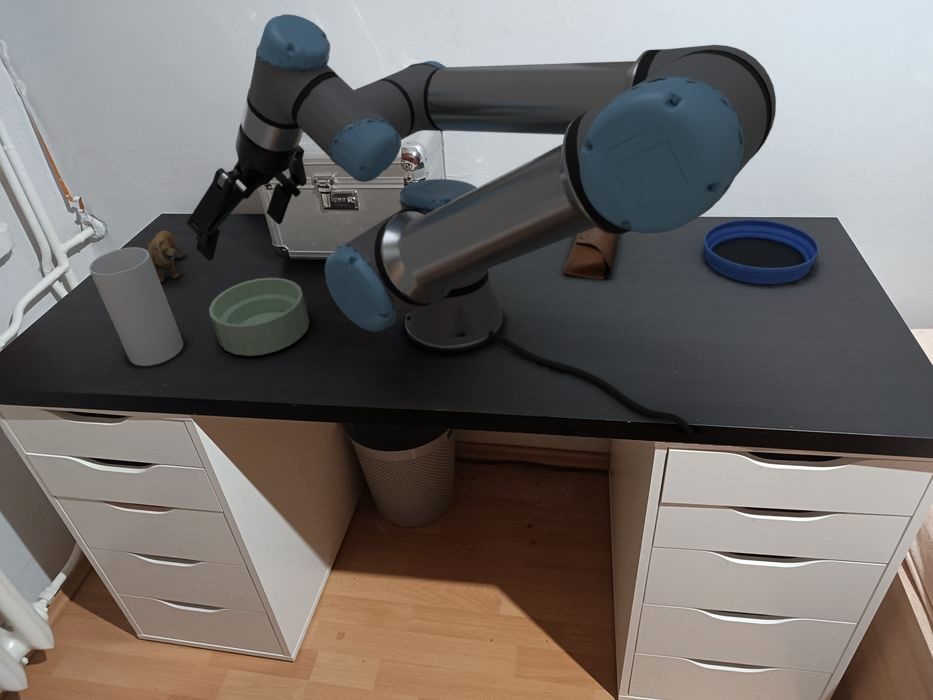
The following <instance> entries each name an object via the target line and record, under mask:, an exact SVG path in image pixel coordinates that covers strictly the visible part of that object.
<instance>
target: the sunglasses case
mask: <svg viewBox="0 0 933 700" xmlns="http://www.w3.org/2000/svg"><path fill="white" fill-rule="evenodd" d="M618 239H619V235H611V234H608V233H605V232H603V231H602V230H600V229H599V228H597V227H595V228H592V229H590V230H587V231H584V232H582V233H579V234H577V235H574V239H573V243H572V245H571V248H570V252H569V255H568V257H567V259H566V261H565V264H564V266H563V269H562V273H563V274H565V275H568V276H573V277H578V278H582V279H583V278H584V279H593V280H605V279H607V278H608V277H609V276H611V273H612V270H613V265H614V258H615V254H616V249H617V244H618V241H619V240H618Z"/></svg>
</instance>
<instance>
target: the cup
mask: <svg viewBox="0 0 933 700" xmlns="http://www.w3.org/2000/svg"><path fill="white" fill-rule="evenodd" d="M88 270H89V273H90V275H91V278H92V279H93V281H94V285H95V286H96V288H97V291H98V294H99V296H100V298H101V300H102V302H103V304H104V306H105V308H106V311H107V313H108V315H109V317H110V319H111V322H112V324H113V326H114V329H115V331H116V333H117V335H118V338H119V340H120V342H121V345H122V346H123V349H124V351H125V353H126V356H127V358H128V360H129V362H130V363H132V364H133V365H134V366H135V365H136V366H140V367H141V366H142V367H150V366H155V365H159V364H161V363H165V362H167V361H169V360H172V359H173V358H174V357H176V356H177V355H178V354H179V353H180V352H181V351H182V349H183V348H184V340H183V338H182V335H181V333H180V330H179V327H178V325H177V322H176V319H175V316H174V314H173V312H172V309H171V307H170V306H171V305H170V304H169V302H168V299H167V296H166V293H165V291H164V289H163V286H162V282H160V280H159V278H158V275H157V272H156V270H155V267H154V265H153V262H152V259H151V257H150V254H149V253H148V251H147V250H146V249H145V248H143V247H124V248H119V249H115V250H111V251H109V252H106V253H104V254H102V255H100V256H98V257H96V258H95V259H93V261H92V262H91V263H89V266H88Z"/></svg>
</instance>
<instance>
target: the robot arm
mask: <svg viewBox="0 0 933 700" xmlns="http://www.w3.org/2000/svg"><path fill="white" fill-rule="evenodd" d="M330 52H331V43H330V41H329V40H328V37H327V34H326V32H325V31H324V30H323V29H322V28H321V27H320V26H319V25H317V24H316V23H315V22H313V21H311V20H310V19H308V18H305V17H302V16H300V15H295V14H288V13H287V14H286V13H285V14H281V15H276V16H274V17H272V18H271V19H269V20H268V21H267V22H266V24H265V26H264V29H263V32H262V36H261V38H260V41H259V45H258V46H257V48H256V50H255V58H254V65H253V69H252V75H251V80H250V84H249V88H248V90H247V91H248V92H247V95H246V101H245V105H244V109H243V112H242V116H241V121H240V124H239V127H238V131H237V136H236V140H235V152H236V155H237V162H236V163H235V164H234V167H233V168H232V170H229V171H225V169H224V168H222V167H220V168H218V169H217V170H216V171H215V173H214V176H213V178H212V179H213V180H212V182H211V183H210V185H209V187H207V190H206V191H205V193H204V195H202V198H201V199H200V201H199V202H198V204H197V205H196V207H195V208H194V210H193V212H192V213H191V214H190V216H189V217H188V219H187V221H186V225H187V226H188V227H189V229H191V230H192V232H194V233H195V234H196V237H195V239H196V241H197V242H196V247H195V248H196V250H197V251H198V252H199V253H200V254H201V255H202V256H203V257H204V258H205V259H206V260H207V262H210V261H212V260H214V257H215V253H216V249H217V246H218V240H219V237H220V233H221V231H220V229H219V227H220V226H221V225H222V224H223V223H224V222H225V220H226V219H227V218H228V217H229V216H230V215H231V214H232V213H233V211H234V210H235V209H236V208H237V206H238V205H240V203H241V202H242V201H243V200H248V199H249V198H250V197H251V196H252V195H253V193H254V192H255V191H256V190H257V189H258V188H261V187H262V186H265V185H268V184H270V183H271V181H273V179H276V180H277V181H278V183H277V184H275V185H274V189H273V191H272V193H271V198H270V200H269V204H268V207H267V210H266V214H267V215H268V216H269V217H270V218H271V219H272V221H274V222H275V223H276V224H277V225H281V224H282V223H283V221H284V218H285V216H286V213H287V210H288V207H289V204H290V202H291V201H292V200H291V199H292V196H294V198H297V197H299V196H300V195H301V193H302V191H301V190H300V189H299V188H298V187H299V186H300V187H304V186H305V185H306V184H307V182H308V180H307V175H306V174H307V173H306V170H305V166H304V161H303V159H304V155H305V149H304V148H303V147H302V146H301V145H300V143H301V140H302V139H303V134H306V136H308V137H309V138H310V139H311V140H312V141H313V142H314V144H315V145H316V146H318V147H319V148H320V149H321V151H322V152H324V153H325V154H326V156H328V158H329V159H330V160H331V161H332V162H333V163H334V164H335V165H336V166H338V167H340V168H341V169H342V170H343V171H344V172H345V173H347V174H348V175H349V176H350V177H352V179H354V180H355V181H357V182H360V183H368V182H370V181H374V180H375V179H377V178H379V176H380V175H381V174H382V172H384V171H387V170H388V169H389V168H390V166H391V165H392V164H393V163H394V161H395V160H396V158H397V157H398V155H399V154H400V151H401V148H402V141H403V140H404V139H406V138H408V137H410V136H412V135H414V134H417V133H418V132H422V131H430V132H432V131H433V132H470V133H498V134H499V133H501V134H525V135H526V134H530V135H553V136H554V135H557V136H563V139H562V143H561V144H560V145H558V146H556V147H554V148H552V149H549V150H548V151H546V152H544V153H542V154H540V155H538V156H536V157H535V158H532V159H530V160H529V161H526V162H525V163H522V164H521V165H519V166H517V167H515V168H513V169H511V170H510V171H507V172H505V173H504V174H502V175H499V176H497V177H496V178H494V179H492V180H490V181H488V182H486V183H484V184H482V185H480V186H478V187H477V186H476V185H474V184H472V183H469V182H466V181H463V180H458V179H457V180H456V179H446V178H435V179H434V178H433V179H423V180H418V181H415V182H411V183H409V184H406V185H405V186H403V187H402V188H401V190H400V193H399V200H398V201H399V202H398V203H400V207H401V208H400V210H399V211H396V212H395V213H394V214H391V215H390V216H388V217H386V218H385V219H383V220H382V221H380V222H378V223H377V224H374V225H373V226H371V228H369V229H367V230H365V231H364V232H363V233H360V234H359V235H357V236H356V237H354V238H353V239H351V240H350V241H348V242H346V243H342V244H340V245H339V246H338V247H337V249H335V250H334V251H333V252H332V253H330V255H328V257H327V258H326V261H325V263H324V265H325V266H324V275H325V282H326V283H325V284H326V286H327V289H328V291H329V293H330V295H331V297H332V299H333V301H334V303H335V304H336V306H337V308H339V310H340V311H341V313H343V315H345V317H346V318H347V319H348V320H349V321H351V322H352V323H354V324H355V325H356V326H357V327H359V328H361V329H363V330H364V331H367V332H372V333H380V332H383V331H385V330H386V329H388V328H391V327H394V325H395V324H396V323H397V321H398V320H400V319H401V318H403V316H404V317H405V318H404V324H405V331H406V335H407V337H408V339H409V340H410V341H411V342H412V343H413V344H415V345H416V346H417V347H419V348H421V349H424V350H427V351H429V352H435V353H442V354H456V353H463V352H468V351H473V350H475V349H478V348H482V347H483V346H485V345H487V344H489V343H490V342H491V341H493V340H495V341H496V342H499V343H500V344H502V345H504V346H505V347H507V348H509V349H511V350H512V351H514V352H516V353H518V354H519V355H521V356H522V357H525V358H526V359H528V360H530V361H533V362H535V363H536V364H537V363H538V364H539V365H543V366H545V367H549V368H551V369H555V370H559V371H562V372H566V373H569V374H572V375H576V376H578V377H581V378H584V379H585V380H587V381H590V382H592V383H594V384H596V385H597V386H599V387H601V388H602V389H604V390H605V391H606V392H608V393H609V394H611V395H612V396H613V397H614V398H616V399H617V400H618V401H620V402H621V403H623V404H624V405H625V406H627V407H628V408H630V409H632V410H633V411H635V412H637V413H639V414H640V415H643V416H645V417H648V418H653V419H659V420H665V421H669V422H671V423H675V424H676V425H678V426H679V428H681V430H683V432H685V433H686V434H689V435H691V434H693V433H694V430H693V428H692V427H691V426H690V425H689V423H688V422H687V421H686V420H685V419H683V418H682V417H681V416H679V415H676V414H673V413H670V412H667V411H666V412H665V411H658V410H654V409H650V408H647V407H645V406H643V405H641V404H639V403H638V402H636V401H634V400H633V399H631V398H630V397H628V396H626V395H625V394H624V393H622V392H621V391H620V390H618V389H617V388H615V387H614V386H613V385H611V384H610V383H609V382H607V381H605V380H604V379H602V378H600V377H599V376H597V375H595V374H593V373H590V372H588V371H586V370H584V369H581V368H577V367H575V366H572V365H568V364H564V363H561V362H557V361H554V360H551V359H549V358H548V359H547V358H545V357H542V356H539V355H537V354H535V353H532V352H530V351H528V350H526V349H525V348H523V347H522V346H521V345H518V344H517V343H515V342H514V341H511V340H510V339H508V338H506V337H504V336H502V335H501V334H500V333H501V331H502V329H503V326H504V325H503V323H504V319H503V317H504V316H503V309H502V306H501V303H500V302H499V300H498V299H497V296H496V294H495V291H494V288H493V286H492V283H491V281H490V279H489V269H491V268H494V267H496V266H498V265H501V264H504V263H507V262H510V261H512V260H515V259H517V258H519V257H522V256H524V255H528V254H530V253H532V252H535V251H538V250H541V249H543V248H545V247H548V246H551V245H553V244H556V243H558V242H561V241H563V240H566V239H569V238H572V237H575V235H577V234H579V233H582V232H584V231H587V230H590V229H592V228H595V227H597V228H599V229H600V230H602V231H603V232H605V233H608V234H611V235H618V236H620V235H624V234H626V233H629V232H633V233H639V234H660V233H661V234H662V233H666V232H671V231H673V230H677V229H679V228H682V227H684V226H686V225H688V224H690V223H691V222H694V221H695V220H697V219H698V218H699V217H701V216H702V215H704V214H706V213H707V212H708V211H709V210H711V209H712V208H713V207H714V206H715V205H716V204H717V203H718V202H719V201H720V200H721V199H722V198H723V196H724V195H725V194H726V193H727V192H728V190H729V189H730V188H731V186H732V184H733V182H734V180H735V179H736V177H738V175H739V173H740V172H742V170H743V169H744V168H745V167H746V166H747V164H748V163H749V162H750V161H751V160H752V159H753V158H754V157H755V155H757V154H758V153H759V151H760V150H761V148H762V147H763V145H764V144H765V143H766V141H767V139H768V137H769V135H770V133H771V130H772V129H773V126H774V121H775V118H776V113H777V112H776V111H777V106H776V105H777V96H776V92H775V86H774V84H773V80H772V79H771V77H770V75H769V73H768V72H767V70H766V68H765V67H764V66H763V65H762V64H761V63H760V61H758V60H757V58H755V56H752V55H751V54H749V53H748V52H746V50H743V49H740V48H737V47H735V46H734V47H733V46H730V45H724V44H723V45H722V44H708V45H707V44H706V45H696V46H685V47H675V48H661V49H660V48H659V49H646V50H645V51H643V52H642V53H641V54H639V56H638V57H637V59H635V60H628V61H627V60H625V61H623V60H622V61H595V62H593V61H591V62H565V63H536V64H535V63H534V64H505V65H502V64H501V65H473V66H446V65H443V64H442V63H440V62H439V61H435V60H427V61H422V62H419V63H413V64H410V65H408V66H407V67H404V68H403V69H401V70H399V71H396V72H394V73H392V74H390V75H387V76H385V77H382V78H380V79H377V80H375V81H373V82H370V83H368V84H365V85H363V86H360V87H358V88H355V89H353V88H352V86H350V85H349V84H348V83H346V81H345V80H343V78H342V77H340V75H338V74H337V73H336V72H335V70H334V69H332V68H331V66H329V65H328V64H329V60H330V58H331V57H330ZM285 171H288V173H289V177H287V176H286V175H285V174H284V173H283V172H285ZM237 181H239V182H240V183H241V184H242V185H243V186H244V187H245V189H243V188H242V187H241V186H240V185H239V184H238V183H237Z"/></svg>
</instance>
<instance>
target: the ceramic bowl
mask: <svg viewBox="0 0 933 700" xmlns="http://www.w3.org/2000/svg"><path fill="white" fill-rule="evenodd" d="M208 312H209V318H210V320H211V323H212V326H213V329H214V332H215V335H216V338H217V340H218V344H219V345H220V346H221V348H223V349H224V351H227V352H228V353H230V354H233V355H238V356H245V357H247V356H248V357H253V356H263V355H267V354H270V353H275V352H278V351H280V350H283V349H285V348H287V347H290V346H291V345H293V344H294V343H296V342H297V341H298V340H300V339H301V338H302V337H303V336H304V335H305V333H306V332H307V331H308V329H309V326H310V319H309V318H310V317H309V313H308V310H307V305H306V301H305V297H304V293H303V291H302V287H301V286H300V285H298V284H297V283H296V282H295V281H292V280H290V279H286V278H282V277H281V278H278V277H263V278H254V279H251V280H246V281H244V282H240V283H238V284H236V285H233V286H230V287H229V288H227V289H225V290H224V291H222V292H221V293H220V294H218V295H217V296H216V297H215V298H214V299H213V300H212V302H211V303H210V305H209V308H208Z"/></svg>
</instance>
